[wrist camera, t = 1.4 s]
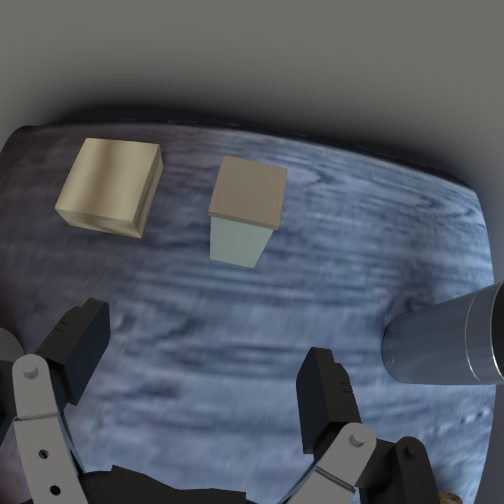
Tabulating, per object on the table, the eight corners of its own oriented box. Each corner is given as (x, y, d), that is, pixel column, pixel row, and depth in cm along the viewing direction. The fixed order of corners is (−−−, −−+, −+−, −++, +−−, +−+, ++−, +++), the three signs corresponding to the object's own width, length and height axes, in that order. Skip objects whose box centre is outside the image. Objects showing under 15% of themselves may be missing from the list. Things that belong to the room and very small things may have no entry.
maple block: (163, 168, 37) (159, 144, 32) (141, 239, 34) (132, 221, 29) (96, 160, 36) (86, 138, 32) (70, 226, 33) (54, 208, 28)
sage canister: (262, 226, 36) (287, 168, 25) (255, 270, 34) (279, 226, 23) (217, 217, 35) (223, 154, 24) (207, 260, 34) (208, 211, 22)
